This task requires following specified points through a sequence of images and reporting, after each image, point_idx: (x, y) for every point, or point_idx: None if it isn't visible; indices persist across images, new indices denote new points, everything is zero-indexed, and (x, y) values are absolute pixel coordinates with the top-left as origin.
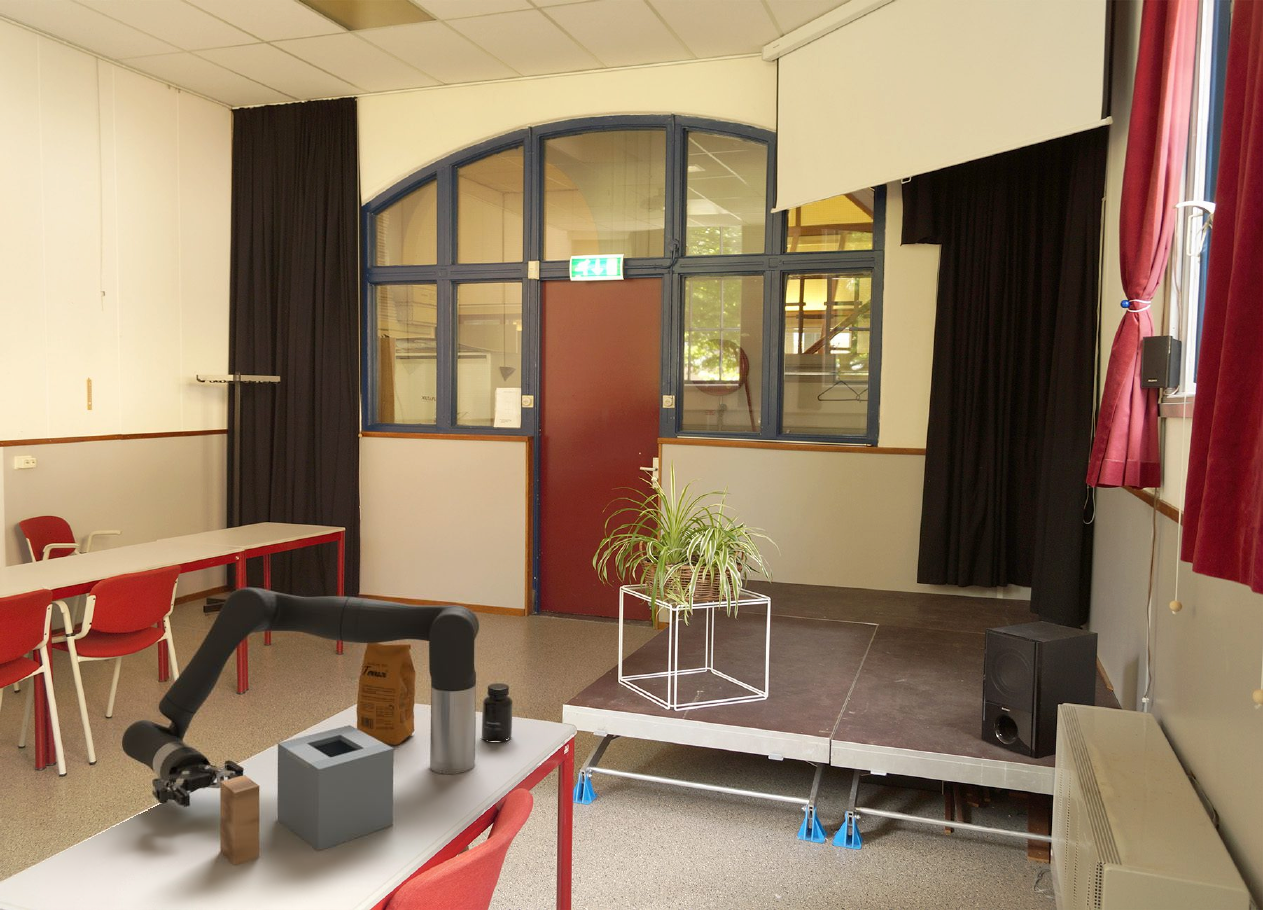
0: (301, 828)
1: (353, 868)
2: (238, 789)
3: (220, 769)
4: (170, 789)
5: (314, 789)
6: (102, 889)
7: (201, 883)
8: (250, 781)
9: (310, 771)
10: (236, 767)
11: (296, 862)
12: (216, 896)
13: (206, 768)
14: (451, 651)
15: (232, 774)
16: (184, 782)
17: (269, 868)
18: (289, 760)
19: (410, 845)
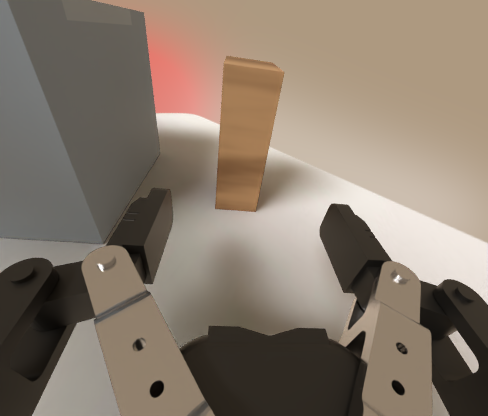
0: (142, 164)
1: (165, 128)
2: (262, 62)
3: (133, 302)
4: (423, 304)
5: (144, 64)
6: (416, 225)
7: (295, 175)
8: (230, 59)
9: (134, 30)
10: (1, 314)
11: (194, 153)
12: (286, 157)
13: (197, 409)
14: None
15: (117, 248)
16: (365, 324)
17: None
18: (86, 38)
19: None
